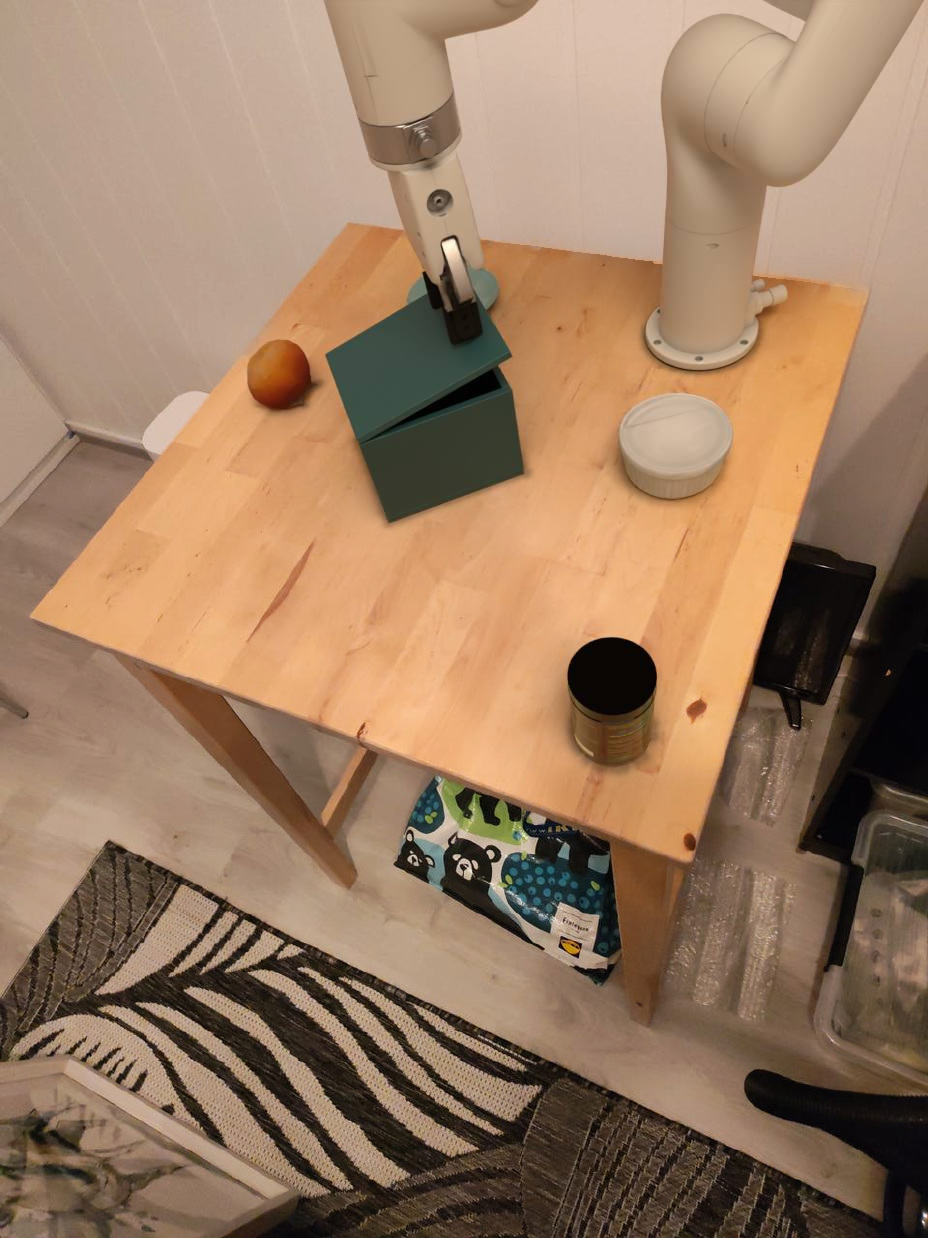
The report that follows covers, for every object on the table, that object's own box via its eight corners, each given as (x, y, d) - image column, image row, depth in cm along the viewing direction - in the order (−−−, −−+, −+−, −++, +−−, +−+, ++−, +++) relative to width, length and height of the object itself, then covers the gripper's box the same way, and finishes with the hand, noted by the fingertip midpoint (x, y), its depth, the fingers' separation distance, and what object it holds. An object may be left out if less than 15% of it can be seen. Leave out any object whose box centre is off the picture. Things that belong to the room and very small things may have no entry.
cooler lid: (466, 277, 81) (444, 231, 76) (513, 356, 73) (492, 311, 69) (328, 359, 83) (299, 319, 79) (360, 444, 76) (330, 405, 71)
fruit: (318, 409, 95) (265, 363, 90) (278, 432, 100) (226, 390, 95) (337, 363, 99) (287, 316, 94) (297, 387, 104) (249, 344, 99)
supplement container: (669, 731, 68) (676, 673, 60) (614, 784, 66) (614, 733, 58) (610, 682, 72) (609, 621, 63) (556, 732, 70) (548, 676, 61)
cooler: (483, 395, 94) (467, 310, 84) (524, 473, 86) (512, 389, 77) (358, 440, 93) (327, 360, 83) (388, 523, 86) (359, 445, 76)
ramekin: (665, 413, 88) (667, 375, 83) (750, 460, 82) (758, 423, 78) (595, 473, 85) (594, 437, 80) (679, 526, 79) (683, 491, 75)
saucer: (510, 280, 105) (508, 264, 103) (487, 340, 99) (484, 325, 97) (426, 277, 108) (422, 262, 106) (399, 335, 102) (395, 320, 100)
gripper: (493, 158, 57) (525, 359, 72) (423, 63, 66) (464, 259, 81) (395, 196, 57) (447, 389, 72) (338, 95, 66) (396, 286, 81)
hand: (456, 318), depth 76 cm, fingers closed on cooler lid, 5 cm apart
